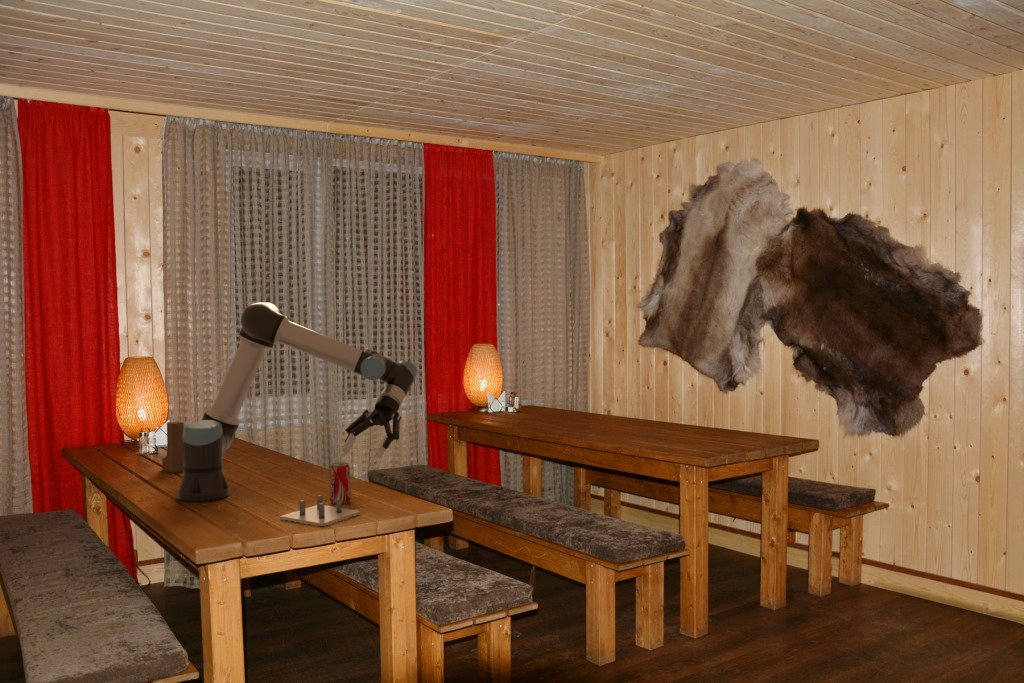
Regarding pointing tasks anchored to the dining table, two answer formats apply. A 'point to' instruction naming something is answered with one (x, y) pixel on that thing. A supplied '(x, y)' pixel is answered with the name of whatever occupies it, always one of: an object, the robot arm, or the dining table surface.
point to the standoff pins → (321, 506)
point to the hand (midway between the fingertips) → (360, 454)
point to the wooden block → (174, 448)
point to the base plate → (313, 516)
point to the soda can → (340, 482)
